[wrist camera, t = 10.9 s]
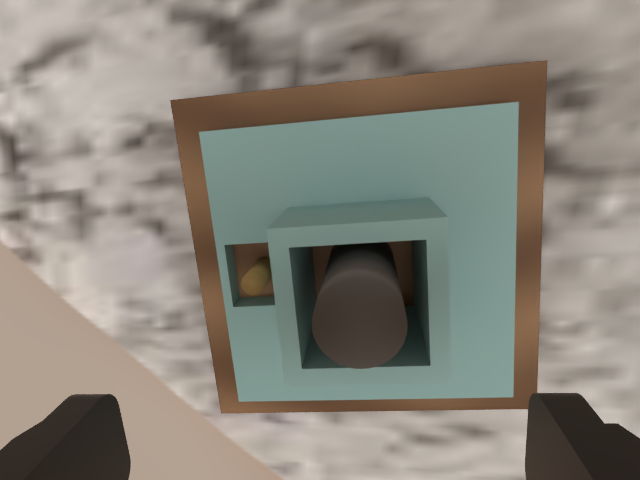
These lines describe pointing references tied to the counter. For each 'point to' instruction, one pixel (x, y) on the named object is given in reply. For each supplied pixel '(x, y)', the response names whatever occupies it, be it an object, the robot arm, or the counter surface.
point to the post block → (367, 258)
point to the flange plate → (371, 227)
